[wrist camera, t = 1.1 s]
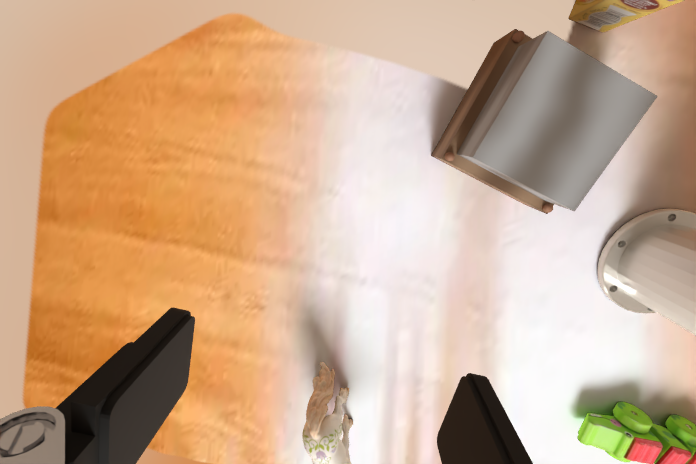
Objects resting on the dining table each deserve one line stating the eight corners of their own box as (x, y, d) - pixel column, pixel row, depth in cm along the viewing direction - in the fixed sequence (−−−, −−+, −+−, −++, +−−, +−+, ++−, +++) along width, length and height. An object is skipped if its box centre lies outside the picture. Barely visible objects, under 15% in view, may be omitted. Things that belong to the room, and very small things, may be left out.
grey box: (594, 100, 33) (677, 89, 25) (524, 204, 36) (576, 226, 28) (493, 42, 32) (544, 9, 23) (431, 155, 35) (455, 163, 26)
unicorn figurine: (348, 466, 49) (345, 586, 36) (281, 369, 44) (251, 466, 31) (392, 450, 47) (405, 567, 35) (328, 348, 43) (317, 441, 30)
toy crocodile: (560, 428, 46) (589, 471, 40) (581, 390, 44) (615, 430, 38) (689, 456, 47) (737, 503, 41) (716, 421, 45) (770, 464, 39)
